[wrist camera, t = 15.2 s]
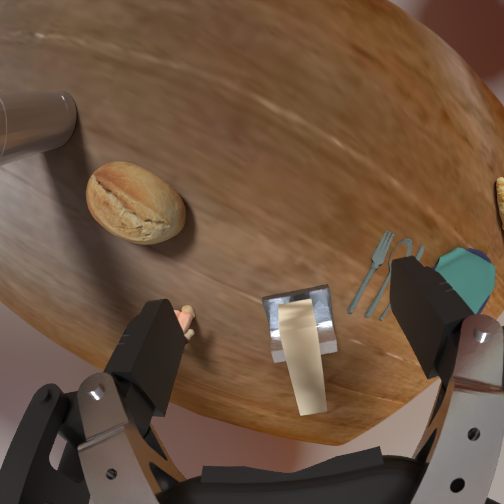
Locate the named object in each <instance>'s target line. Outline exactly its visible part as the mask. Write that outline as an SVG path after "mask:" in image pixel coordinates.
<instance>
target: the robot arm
mask: <svg viewBox="0 0 504 504" xmlns="http://www.w3.org/2000/svg"><path fill="white" fill-rule="evenodd" d="M76 119H77V112H76V106H75V103H74V100H73V99H72V97H71V96H70V95H69V94H68V93H66V92H63V91H33V92H17V93H6V94H0V166H2V165H5V164H8V163H10V162H13V161H16V160H19V159H22V158H25V157H28V156H32V155H35V154H38V153H42V152H45V151H49V150H52V149H56V148H59V147H61V146H63V145H64V144H65V143H66V142H67V141H68V140H69V139H70V137H71V135H72V133H73V131H74V128H75V125H76ZM390 305H391V309H392V312H393V314H394V316H395V317H396V319H397V321H398V323H399V325H400V326H401V328H402V330H403V332H404V334H405V336H406V338H407V339H408V341H409V343H410V345H411V347H412V349H413V351H414V353H415V355H416V357H417V359H418V361H419V363H420V365H421V367H422V369H423V371H424V373H425V375H426V377H427V379H431V378H433V377H436V376H439V377H440V378H441V380H442V381H441V384H440V386H439V390H438V393H437V396H436V400H435V403H434V406H433V409H432V412H431V415H430V418H429V421H428V423H427V426H426V429H425V431H424V434H423V436H422V438H421V440H420V442H419V444H418V446H417V448H416V450H415V452H414V454H413V457H412V458H408V457H403V456H394V455H382V454H381V449H380V446H378V447H375V448H371V449H367V450H363V451H359V452H355V453H350V454H346V455H341V456H336V457H334V458H331V459H329V460H326V461H324V462H321V463H319V464H316V465H314V466H311V467H308V468H306V469H303V470H300V471H297V472H294V473H282V472H274V471H267V470H261V469H256V468H250V467H245V466H242V467H241V466H238V467H223V466H220V467H219V466H203V470H202V476H197V477H194V478H191V479H186V478H185V477H184V475H183V474H182V473H181V472H180V471H179V470H178V469H177V467H176V466H175V465H174V463H173V461H172V460H171V458H170V456H169V455H168V453H167V451H166V449H165V447H164V446H163V444H162V442H161V440H160V438H159V436H158V435H157V432H156V431H155V429H154V427H153V425H152V424H151V423H150V422H151V418H152V416H161V417H165V414H166V410H167V406H168V403H169V399H170V395H171V392H172V388H173V385H174V381H175V378H176V374H177V371H178V367H179V364H180V360H181V357H182V353H183V350H184V346H185V336H184V332H183V329H182V327H181V325H180V323H179V321H178V318H177V316H176V314H175V312H174V310H173V307H172V305H171V303H170V301H169V300H168V299H160V300H152V301H147V302H146V304H145V306H144V307H143V309H142V311H141V313H140V315H138V316H137V317H135V318H134V319H133V320H132V321H131V322H130V323H129V324H128V326H127V328H126V330H125V331H124V333H123V337H121V339H120V341H119V345H117V346H116V348H115V350H114V352H113V354H112V356H111V358H110V360H109V362H108V364H107V366H106V368H105V370H104V372H103V373H102V372H101V373H96V374H93V375H91V376H90V377H88V378H87V379H86V380H84V382H83V383H82V384H81V385H80V388H79V390H78V391H75V392H70V393H65V394H64V393H63V392H62V391H61V389H60V388H59V387H58V386H57V385H56V384H46V385H44V386H42V387H41V388H40V389H39V390H38V391H37V392H36V393H35V394H34V396H33V398H32V400H31V402H30V404H29V406H28V408H27V410H26V412H25V414H24V416H23V418H22V420H21V422H20V424H19V426H18V428H17V431H16V433H15V435H14V437H13V440H12V442H11V444H10V447H9V449H8V452H7V454H6V456H5V459H4V462H3V464H2V467H1V470H0V504H89V499H90V496H91V498H92V501H93V504H500V503H498V502H496V501H494V500H491V499H489V498H487V495H488V493H489V490H490V487H491V483H492V480H493V477H494V474H495V470H496V466H497V463H498V459H499V455H500V451H501V446H502V441H503V436H504V326H501V325H500V323H499V322H498V321H497V320H496V319H494V318H493V317H491V316H488V315H485V314H475V313H474V312H473V311H472V310H471V309H470V307H469V306H468V305H467V304H466V303H465V301H464V300H463V299H462V298H461V297H460V295H459V294H458V293H457V292H456V291H455V290H453V287H452V286H451V285H450V284H449V283H447V281H446V280H445V279H444V277H443V276H442V275H441V274H440V273H439V272H437V271H435V270H433V269H431V268H430V267H428V266H427V267H423V266H422V264H421V263H420V262H419V261H418V260H417V259H416V258H415V257H414V256H408V257H403V258H399V259H394V260H393V261H392V264H391V284H390ZM57 433H58V434H59V435H60V436H61V437H62V438H63V439H65V440H66V441H67V444H66V446H65V449H64V452H63V455H62V458H61V461H60V464H59V467H58V470H55V469H54V468H53V467H52V466H51V464H50V462H49V455H50V452H51V449H52V446H53V444H54V441H55V438H56V436H57Z"/></svg>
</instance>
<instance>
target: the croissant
mask: <svg viewBox="0 0 504 504" xmlns="http://www.w3.org/2000/svg"><path fill="white" fill-rule="evenodd" d="M496 187H497V188H496V190H497V202H498V206H499V214H500V217H501V220H502V223H503V224H502V228H503V230H504V178H502V177H500V178H498V179H497V182H496Z"/></svg>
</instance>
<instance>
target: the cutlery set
mask: <svg viewBox="0 0 504 504" xmlns="http://www.w3.org/2000/svg"><path fill="white" fill-rule="evenodd" d="M387 232H388V230H386V232H385V234H384V235H383V237H382V239H381V241H380V243H379V245H378V246H377V248H376V250H375V251H374V253H373V255H372V257H371V259H372V260H373V263H372V264H371V268H370V270H369V272H368V273H367V275H366V277H365V278H364V280H363V282H362V284H361V286H360V288H359V290H358V291H357V293H356V295H355V297H354V299H353V301H352V303H351V304H350V306H349V308H348V309H347V311H348V313H352V312H353V310H354V308H355V306H356V305H357V303H358V301H359V299H360V297H361V295H362V293H363V291H364V289H365V287H366V285H367V283H368V281H369V280H370V278H371V276H372V275H373V273H374V271H375V269H378V265H379V264H383V261H384V258H385V256H386V253H387V251H388V248H389V245H390V243H391V240H392V238H393V236H394V234H395V233H392V235H391V237H390V239H389V241H388V238H389V236H390V234H391V232H389V234H388V235H387V237H386V239H385V236H386V234H387ZM384 239H385V241H384ZM383 241H384V243H383ZM387 241H388V243H387ZM403 242H404V243H406V244H407V246H408V252H407V255H406V257H408V256H410V254H411V251H412V240H410V239H408V238H406V239H404V240H403V241H401V242H400V243H399V244H398V245H400V244H401V243H403ZM386 243H387V244H386ZM382 244H383V245H382ZM398 245H397V246H398ZM397 246H396V247H397ZM396 247H395V248H396ZM394 250H395V249H394ZM394 250H393V251H394ZM393 251H392V253H393ZM423 251H424V246H423V245H421V247H420V249H419V251H418V253H417V254H416V256H415V258H416V259H417V260H418V261H419V260H420V258H421V256H422V254H423ZM392 253H391V256H392ZM391 256H390V259H391ZM389 266H390V272H389V274H388V276H387V278H386V280H385V282H384V283H383V285H382V287H381V289H380V291H379V293H378V294H377V296H376V298H375V299H374V301H373V303H372V304H371V306H370V307H369V309H368V310H367V312H366V313H365V314H364V315H365V317H368V318H370V316H371V314H372V312H373V311H374V309H375V307H376V305H377V303H378V301H379V300H380V298H381V296H382V294H383V292H384V290H385V287H386V285H387V283H388V281H389V279H390V277H391V262H390V260H389ZM432 269H433V270H435V271H437V272H439V273H440V274H441V275H442V276H443V277H444V279H445V280H446V281H447V283H449V284H450V285H451V286H452V287H453V290H455V291H456V292H457V293H458V294H459V295H460V297H461V298H462V299H463V300H464V301H465V303H466V304H467V305H468V306H469V307H470V309H471V310H472V311H473V312H474V313H475V314H480V313H481V311H482V310H483V308H484V306H485V305H486V303H487V301H488V299H489V297H490V293H491V292H492V290H493V289H494V286H495V266H494V265H493V264H491V261H490V259H489V258H488V257H487V256H486V255H485V254H484V253H483V252H482V251H478V250H475V249H471V248H470V249H463V248H459V247H458V248H456V249H454V250H453V251H451V252H450V253H447V254H446V255H444V256H441V257H440V260H439V263H437V264H436V265H435V266H434V267H433V268H432ZM390 307H391V305H390V304H389V305H388V307H387V309H386V310H385V312H384V313H383V315H382V316H381V317H379V319H380V320H383V318H384V317H385V315H386V313H387V311H388V310H389V308H390Z"/></svg>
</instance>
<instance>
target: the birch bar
mask: <svg viewBox="0 0 504 504" xmlns="http://www.w3.org/2000/svg"><path fill="white" fill-rule="evenodd" d="M278 316H279V335H280V339H281V342H282V346H283V350H284V354H285V358H286V362H287V365H288V369H289V373H290V377H291V381H292V385H293V388H294V392H295V396H296V400H297V404H298V408H299V412H300V416H301V415H308V414H315V413H321V412H326V411H327V405H326V395H325V386H324V378H323V370H322V362H321V354H320V346H319V339H318V332H317V325H316V320H315V315H314V310H313V305H312V300H311V299H306V300H301V301H295V302H290V303H284V304H279V305H278Z"/></svg>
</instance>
